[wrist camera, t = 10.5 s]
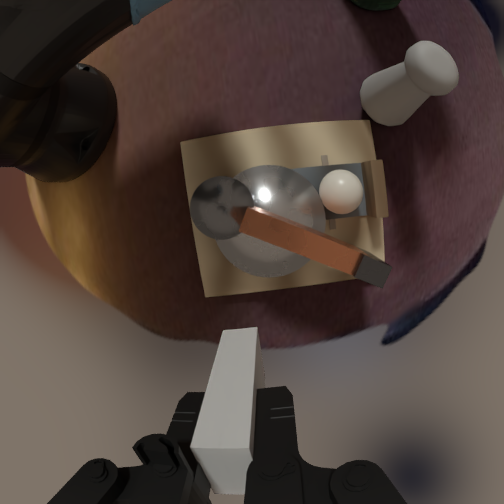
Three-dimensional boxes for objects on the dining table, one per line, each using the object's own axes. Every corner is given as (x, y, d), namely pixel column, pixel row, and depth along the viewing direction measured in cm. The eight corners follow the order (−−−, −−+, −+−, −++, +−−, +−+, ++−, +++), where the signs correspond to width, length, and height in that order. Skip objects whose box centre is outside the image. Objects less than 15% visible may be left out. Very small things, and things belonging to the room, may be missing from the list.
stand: (207, 293, 31) (199, 308, 27) (183, 143, 27) (170, 137, 23) (380, 271, 29) (395, 282, 25) (365, 122, 26) (380, 113, 22)
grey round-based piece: (338, 300, 28) (358, 333, 21) (188, 244, 28) (162, 262, 21) (378, 209, 26) (412, 217, 19) (223, 147, 26) (207, 131, 19)
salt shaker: (362, 72, 25) (412, 14, 12) (407, 97, 25) (473, 57, 12) (347, 115, 26) (398, 69, 13) (394, 139, 26) (465, 115, 13)
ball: (318, 214, 27) (326, 218, 23) (313, 172, 26) (320, 170, 22) (357, 210, 26) (371, 213, 23) (352, 169, 26) (366, 166, 22)
